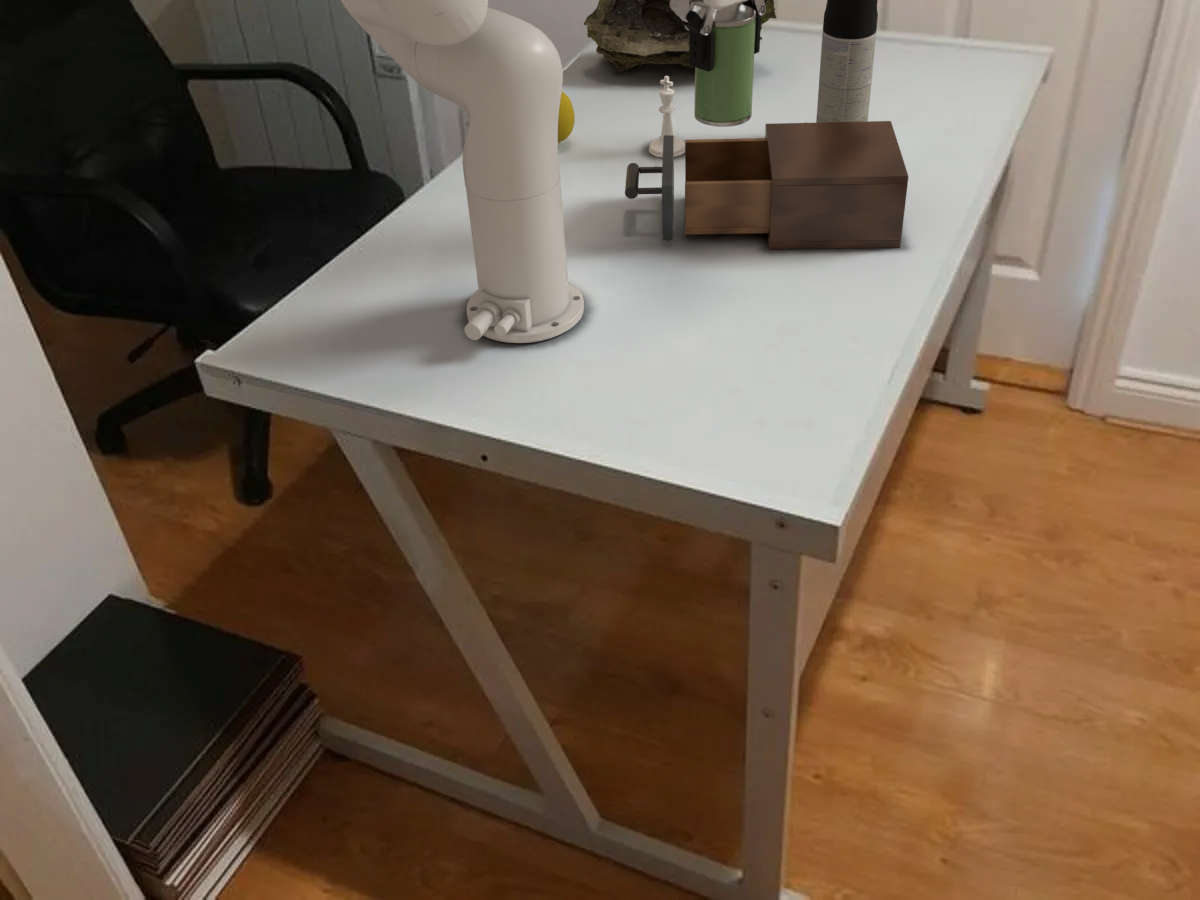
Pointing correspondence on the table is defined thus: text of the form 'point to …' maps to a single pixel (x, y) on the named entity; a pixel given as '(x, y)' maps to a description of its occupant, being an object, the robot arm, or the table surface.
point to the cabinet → (835, 185)
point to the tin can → (728, 69)
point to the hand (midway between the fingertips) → (724, 57)
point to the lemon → (565, 118)
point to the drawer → (713, 186)
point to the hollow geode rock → (643, 32)
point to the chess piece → (666, 122)
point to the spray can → (847, 60)
